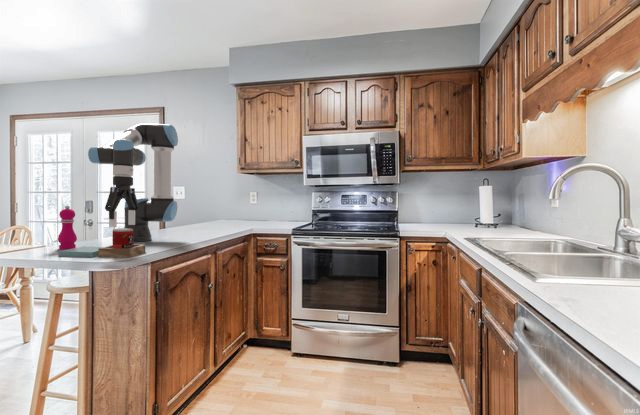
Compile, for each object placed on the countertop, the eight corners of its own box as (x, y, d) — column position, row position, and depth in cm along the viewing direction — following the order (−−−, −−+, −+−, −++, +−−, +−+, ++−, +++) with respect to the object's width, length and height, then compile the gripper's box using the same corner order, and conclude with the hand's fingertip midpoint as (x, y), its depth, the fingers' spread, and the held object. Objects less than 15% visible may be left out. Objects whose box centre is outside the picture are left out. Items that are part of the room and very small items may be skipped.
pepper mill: (75, 246, 169) (75, 205, 168) (78, 248, 164) (78, 205, 163) (56, 248, 164) (56, 205, 163) (59, 250, 159) (59, 205, 158)
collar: (117, 251, 158) (117, 243, 158) (145, 252, 158) (145, 244, 158) (98, 256, 145) (98, 248, 145) (128, 257, 145) (128, 249, 145)
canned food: (124, 256, 147) (124, 230, 147) (107, 255, 149) (107, 229, 148) (137, 253, 154) (137, 228, 154) (121, 252, 156) (121, 227, 156)
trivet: (82, 250, 158) (82, 246, 158) (113, 251, 158) (113, 247, 158) (58, 256, 144) (58, 251, 144) (92, 257, 144) (92, 252, 144)
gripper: (113, 174, 138) (113, 228, 138) (147, 178, 163) (146, 224, 163) (94, 173, 138) (94, 228, 138) (131, 178, 163) (130, 223, 163)
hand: (122, 226), depth 151 cm, fingers open, 13 cm apart
